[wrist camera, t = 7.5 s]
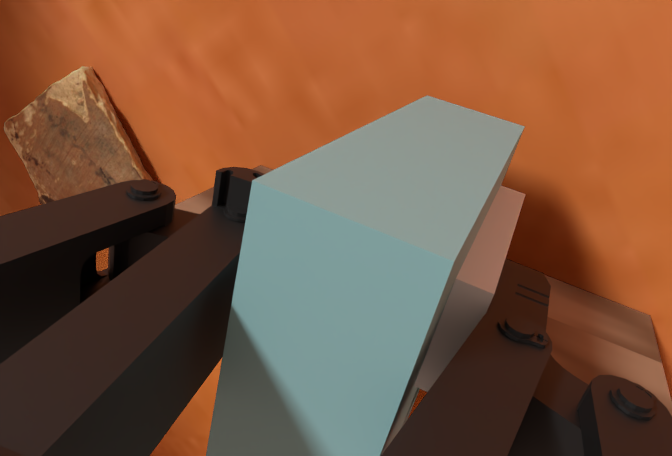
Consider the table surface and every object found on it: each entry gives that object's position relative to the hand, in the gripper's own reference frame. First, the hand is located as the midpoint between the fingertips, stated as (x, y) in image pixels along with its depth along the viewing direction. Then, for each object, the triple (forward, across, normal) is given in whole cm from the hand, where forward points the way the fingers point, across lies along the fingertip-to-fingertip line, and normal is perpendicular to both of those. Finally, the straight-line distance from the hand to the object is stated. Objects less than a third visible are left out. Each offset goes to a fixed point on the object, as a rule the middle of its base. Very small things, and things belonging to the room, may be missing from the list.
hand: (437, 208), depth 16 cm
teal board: (+1, 0, -4) cm, 4 cm away
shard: (+4, -16, -5) cm, 17 cm away
